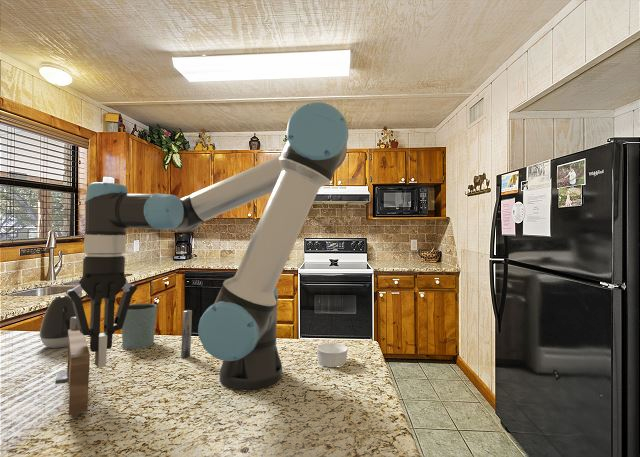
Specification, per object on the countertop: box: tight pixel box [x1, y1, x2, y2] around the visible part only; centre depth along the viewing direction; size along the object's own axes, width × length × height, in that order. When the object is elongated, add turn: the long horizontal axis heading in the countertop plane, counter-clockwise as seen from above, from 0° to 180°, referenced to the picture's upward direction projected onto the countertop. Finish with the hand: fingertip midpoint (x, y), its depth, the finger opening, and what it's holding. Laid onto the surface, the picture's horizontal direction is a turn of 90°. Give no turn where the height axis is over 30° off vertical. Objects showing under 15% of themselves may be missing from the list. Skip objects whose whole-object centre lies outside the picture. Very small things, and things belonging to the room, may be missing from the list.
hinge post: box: [54, 317, 79, 384], centre depth 79 cm, size 6×6×14 cm
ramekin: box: [316, 342, 349, 368], centre depth 92 cm, size 9×9×4 cm
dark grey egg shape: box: [39, 294, 76, 349], centre depth 100 cm, size 10×10×15 cm
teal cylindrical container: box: [121, 302, 158, 350], centre depth 103 cm, size 10×10×12 cm
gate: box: [66, 328, 91, 417], centre depth 70 cm, size 22×3×11 cm, turn 39°
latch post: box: [180, 309, 193, 359], centre depth 93 cm, size 2×2×13 cm
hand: (100, 365), depth 70 cm, fingers closed
